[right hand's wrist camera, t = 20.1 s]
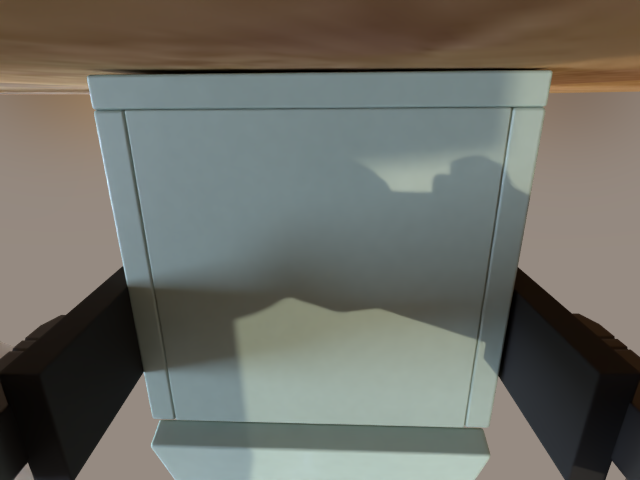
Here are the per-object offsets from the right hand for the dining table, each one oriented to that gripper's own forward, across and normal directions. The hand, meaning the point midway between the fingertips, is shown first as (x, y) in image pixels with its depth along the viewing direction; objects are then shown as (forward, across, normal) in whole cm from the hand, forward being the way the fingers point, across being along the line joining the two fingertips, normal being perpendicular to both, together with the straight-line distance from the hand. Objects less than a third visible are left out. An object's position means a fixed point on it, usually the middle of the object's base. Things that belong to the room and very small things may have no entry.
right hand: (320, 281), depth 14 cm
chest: (+3, 0, -6) cm, 7 cm away
